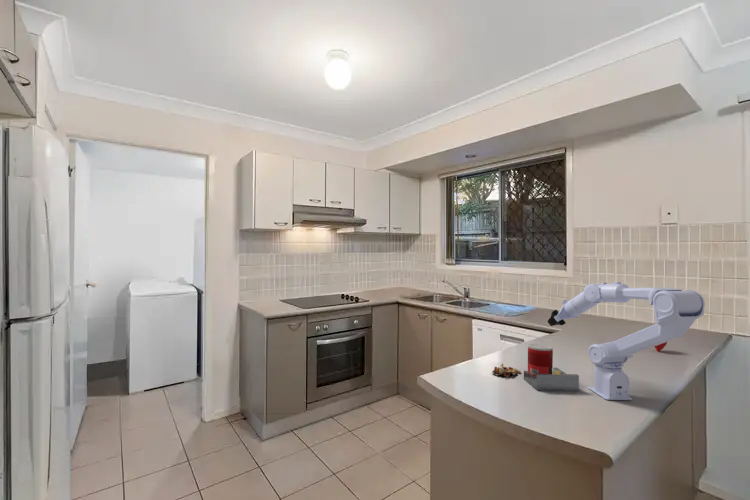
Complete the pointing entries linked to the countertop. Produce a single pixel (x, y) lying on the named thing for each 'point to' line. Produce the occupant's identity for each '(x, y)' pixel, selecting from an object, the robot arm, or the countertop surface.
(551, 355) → the canned food
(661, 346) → the strawberry
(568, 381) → the coupler bay
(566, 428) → the countertop surface
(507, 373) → the brown jagged clump
